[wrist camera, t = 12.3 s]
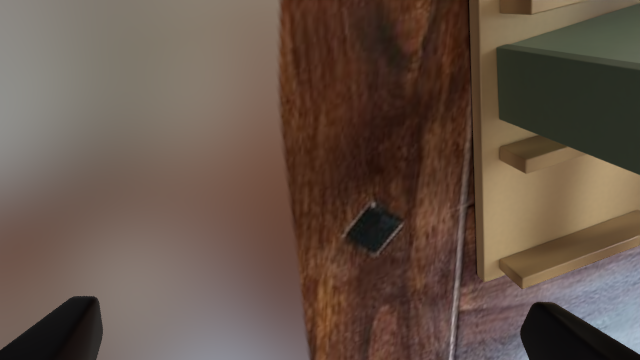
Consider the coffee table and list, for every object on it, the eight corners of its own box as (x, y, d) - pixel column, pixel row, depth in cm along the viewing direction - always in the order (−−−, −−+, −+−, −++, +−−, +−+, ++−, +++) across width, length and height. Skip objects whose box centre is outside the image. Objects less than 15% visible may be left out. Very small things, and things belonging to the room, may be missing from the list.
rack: (476, 275, 26) (506, 304, 23) (461, -233, 15) (512, -278, 13) (635, 217, 28) (678, 239, 25) (720, -270, 17) (810, -316, 15)
